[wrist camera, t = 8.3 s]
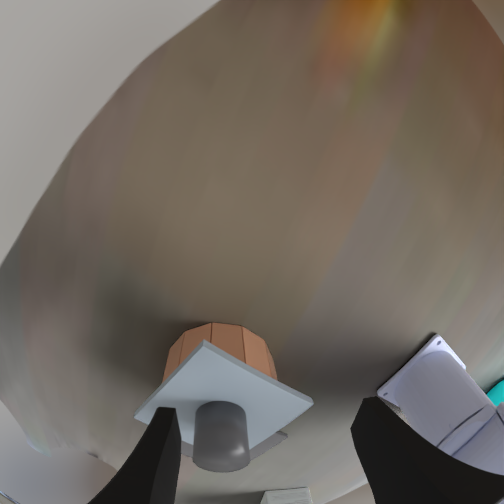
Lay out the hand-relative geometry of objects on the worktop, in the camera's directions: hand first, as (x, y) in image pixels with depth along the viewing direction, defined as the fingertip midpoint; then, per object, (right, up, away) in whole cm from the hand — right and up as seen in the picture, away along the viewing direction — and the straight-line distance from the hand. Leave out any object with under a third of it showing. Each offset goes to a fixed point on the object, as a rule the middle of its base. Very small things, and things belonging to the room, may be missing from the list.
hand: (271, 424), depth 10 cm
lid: (-3, -4, +7) cm, 9 cm away
